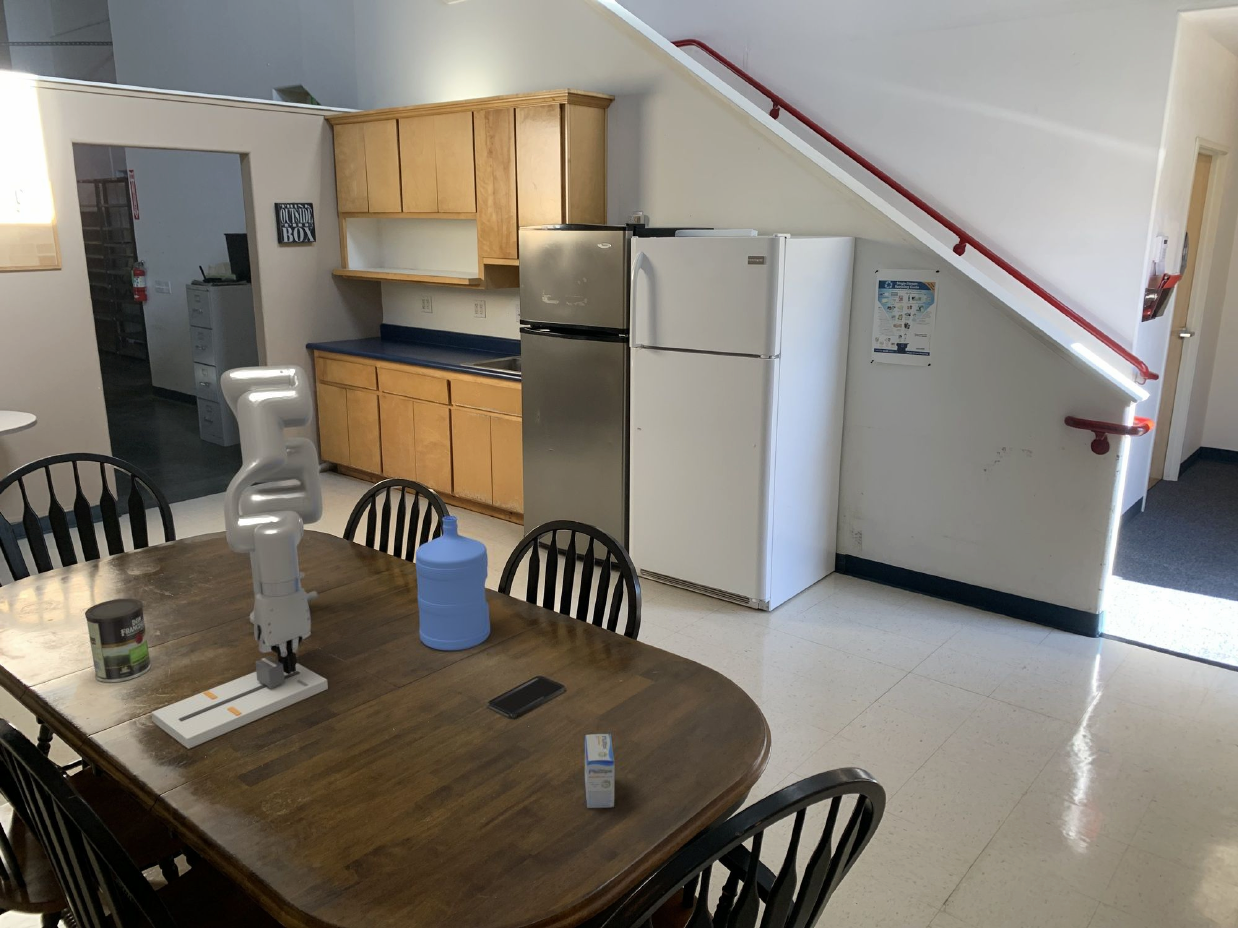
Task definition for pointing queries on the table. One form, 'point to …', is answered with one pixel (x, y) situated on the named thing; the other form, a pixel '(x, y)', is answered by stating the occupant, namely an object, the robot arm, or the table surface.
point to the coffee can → (118, 640)
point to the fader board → (234, 705)
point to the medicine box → (599, 771)
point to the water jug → (452, 590)
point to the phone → (525, 697)
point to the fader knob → (270, 672)
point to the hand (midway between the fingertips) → (288, 670)
